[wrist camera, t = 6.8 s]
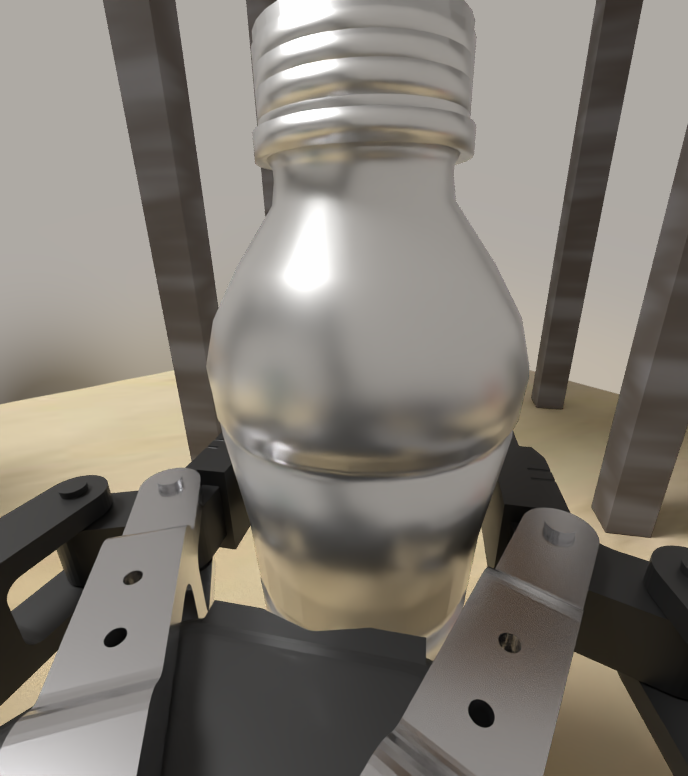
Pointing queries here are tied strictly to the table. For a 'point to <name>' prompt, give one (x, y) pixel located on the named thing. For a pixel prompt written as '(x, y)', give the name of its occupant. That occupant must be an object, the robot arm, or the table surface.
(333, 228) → the plastic bottle
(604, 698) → the table surface
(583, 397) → the table surface
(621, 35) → the counter stand
